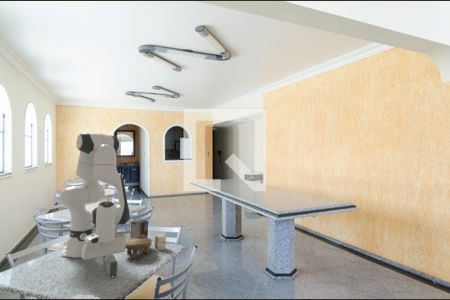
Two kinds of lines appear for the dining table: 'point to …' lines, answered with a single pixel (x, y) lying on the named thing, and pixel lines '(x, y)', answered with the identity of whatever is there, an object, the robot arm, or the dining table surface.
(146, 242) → the stool
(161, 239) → the birch block
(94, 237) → the robot arm
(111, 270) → the green rectangular block
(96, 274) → the dining table surface
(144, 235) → the coffee box
